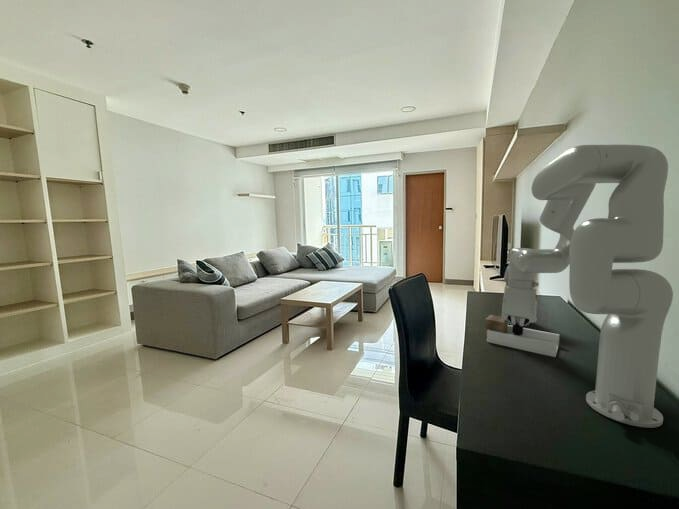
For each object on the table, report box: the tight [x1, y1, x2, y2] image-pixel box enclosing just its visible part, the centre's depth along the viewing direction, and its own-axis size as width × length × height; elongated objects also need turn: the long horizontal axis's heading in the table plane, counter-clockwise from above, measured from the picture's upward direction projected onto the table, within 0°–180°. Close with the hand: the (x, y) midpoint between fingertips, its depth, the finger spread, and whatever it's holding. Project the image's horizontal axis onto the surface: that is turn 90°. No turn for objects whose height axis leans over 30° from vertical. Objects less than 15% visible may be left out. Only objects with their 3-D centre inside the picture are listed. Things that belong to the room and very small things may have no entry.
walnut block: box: [484, 314, 509, 337], centre depth 112 cm, size 6×7×6 cm
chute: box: [486, 324, 560, 358], centre depth 107 cm, size 20×12×4 cm, turn 51°
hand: (517, 335), depth 108 cm, fingers closed
